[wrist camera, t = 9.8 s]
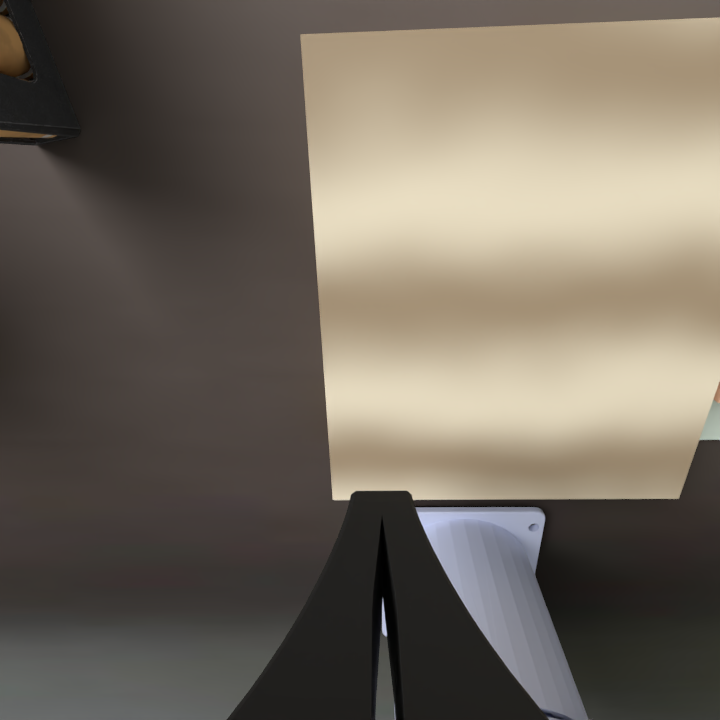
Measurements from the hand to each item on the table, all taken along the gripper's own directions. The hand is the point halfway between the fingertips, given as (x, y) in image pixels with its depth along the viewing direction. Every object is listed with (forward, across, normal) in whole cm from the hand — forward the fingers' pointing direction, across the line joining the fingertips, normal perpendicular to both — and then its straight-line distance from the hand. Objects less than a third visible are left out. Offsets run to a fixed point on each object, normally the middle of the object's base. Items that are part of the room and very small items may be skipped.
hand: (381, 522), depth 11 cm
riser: (+9, -5, -3) cm, 11 cm away
